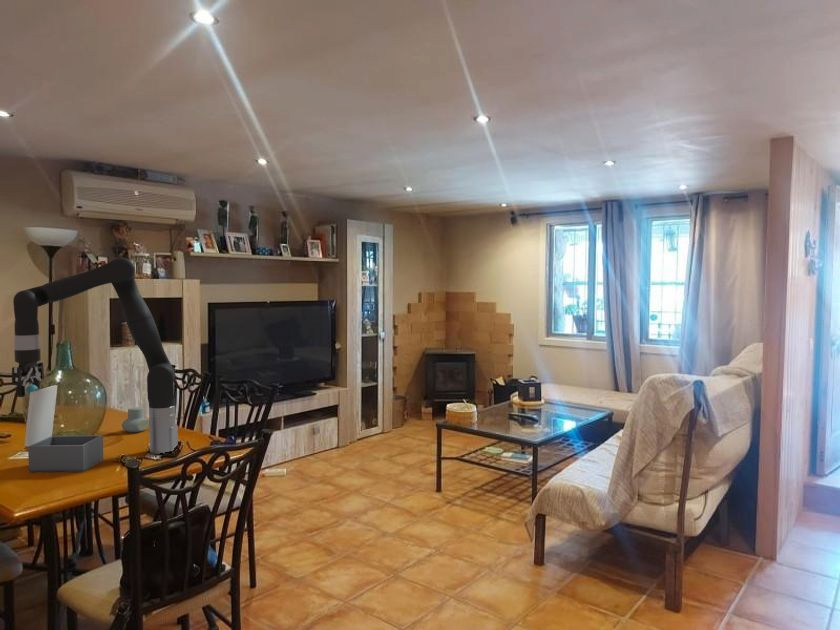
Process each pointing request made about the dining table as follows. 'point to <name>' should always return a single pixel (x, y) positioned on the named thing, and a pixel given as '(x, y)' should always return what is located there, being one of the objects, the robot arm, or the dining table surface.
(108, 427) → the dining table surface
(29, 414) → the tub lid
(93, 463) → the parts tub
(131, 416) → the air freshener
